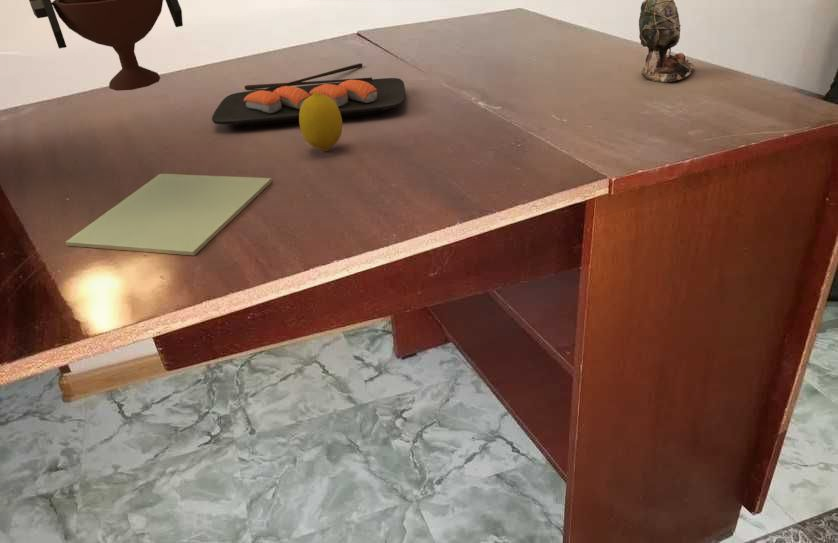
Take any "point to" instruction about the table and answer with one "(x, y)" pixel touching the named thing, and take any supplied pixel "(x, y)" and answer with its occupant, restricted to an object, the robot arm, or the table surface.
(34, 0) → the robot arm
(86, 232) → the placemat
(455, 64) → the table surface
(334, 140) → the lemon
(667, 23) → the plant with pod
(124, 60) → the ice cream bowl
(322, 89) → the sushi plate
